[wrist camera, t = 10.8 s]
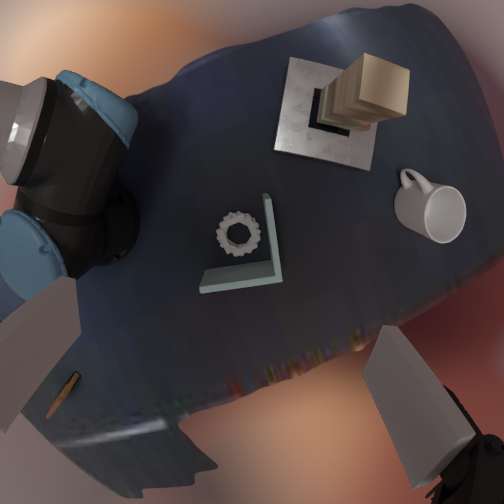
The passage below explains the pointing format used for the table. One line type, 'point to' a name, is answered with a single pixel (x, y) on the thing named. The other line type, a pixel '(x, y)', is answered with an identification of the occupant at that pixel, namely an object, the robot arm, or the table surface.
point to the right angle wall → (244, 272)
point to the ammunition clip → (64, 393)
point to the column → (365, 94)
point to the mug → (430, 208)
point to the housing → (309, 139)
